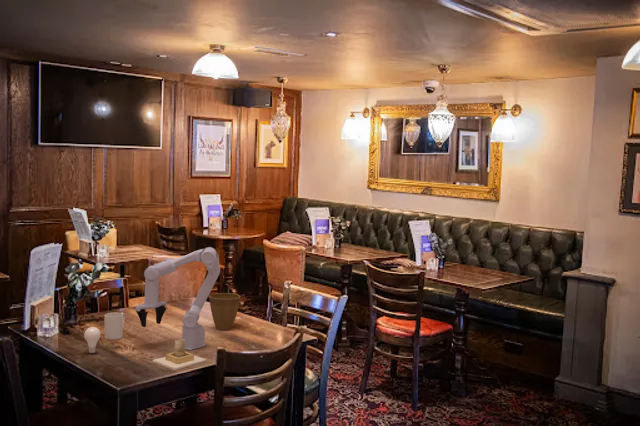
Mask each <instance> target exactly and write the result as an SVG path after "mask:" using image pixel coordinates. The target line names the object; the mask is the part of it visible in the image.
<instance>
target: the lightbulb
mask: <svg viewBox="0 0 640 426" xmlns="http://www.w3.org/2000/svg"><path fill="white" fill-rule="evenodd" d="M101 335H102V333H101V330H100V329H99V328H98V327H96V326H90V327H88V328H87V329H86V330H85V331H84V333H83V337H84V340H85V341H86V342H87V346H88V353H90V354H95V353H96V351H97V350H96V348H97V347H96V346H97V344H98V341H99V339H100V338H101Z"/></svg>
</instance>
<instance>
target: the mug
mask: <svg viewBox="0 0 640 426" xmlns="http://www.w3.org/2000/svg"><path fill="white" fill-rule="evenodd" d="M125 320H126V314H125V313H124V312H116V311H115V312H108V313H105V314H104V327H103V328H104V331H103V334H104V339H105V340H111V341H112V340H114V341H115V340H120V339H123V337H124V323H125Z"/></svg>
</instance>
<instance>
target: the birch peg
mask: <svg viewBox="0 0 640 426" xmlns="http://www.w3.org/2000/svg"><path fill="white" fill-rule="evenodd" d="M174 352H175V357H178V358H180V357H183V356H185V352H186V349H185V340H184V339H182V338H177V339H175V340H174Z"/></svg>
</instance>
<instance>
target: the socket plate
mask: <svg viewBox="0 0 640 426" xmlns="http://www.w3.org/2000/svg"><path fill="white" fill-rule="evenodd" d="M207 360H208V359H206V358H204V357H200V356H198V355H195V354H193V353H191V352H187V351H185V356H183V357H180V358H178V357H175V351H174V352H170V353H169V352H168V353H166V354H165V356H164V357H159V358H156V359H153V360H152V363H154V364H157V365H159V366H162V367H165V368H167V369H169V370H173V371H177V370H181V369H184V368H188V367H192V366H196V365H199V364H203V363H206V362H208V361H207Z"/></svg>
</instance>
